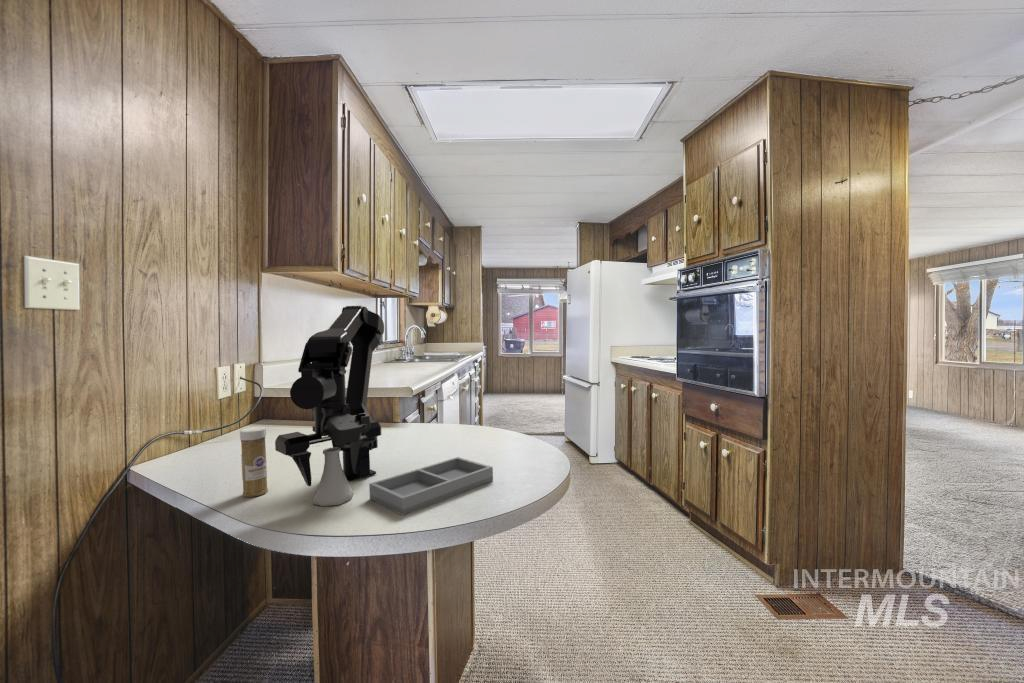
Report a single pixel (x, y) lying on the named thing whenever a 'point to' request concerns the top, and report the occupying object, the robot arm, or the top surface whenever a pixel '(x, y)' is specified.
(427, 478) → the tray
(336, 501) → the flask
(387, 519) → the top surface
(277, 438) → the robot arm
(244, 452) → the sprinkles bottle
